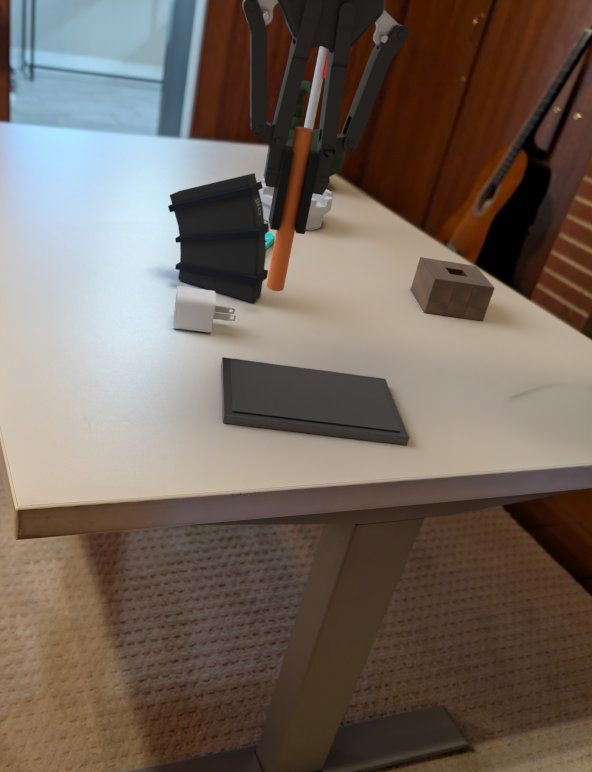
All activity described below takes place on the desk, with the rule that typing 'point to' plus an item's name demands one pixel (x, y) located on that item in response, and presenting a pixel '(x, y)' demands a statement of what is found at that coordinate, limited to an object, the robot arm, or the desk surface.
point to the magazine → (222, 236)
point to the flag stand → (318, 202)
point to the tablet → (309, 401)
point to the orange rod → (290, 208)
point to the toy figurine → (297, 122)
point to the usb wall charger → (198, 310)
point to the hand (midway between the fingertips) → (286, 226)
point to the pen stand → (451, 289)
